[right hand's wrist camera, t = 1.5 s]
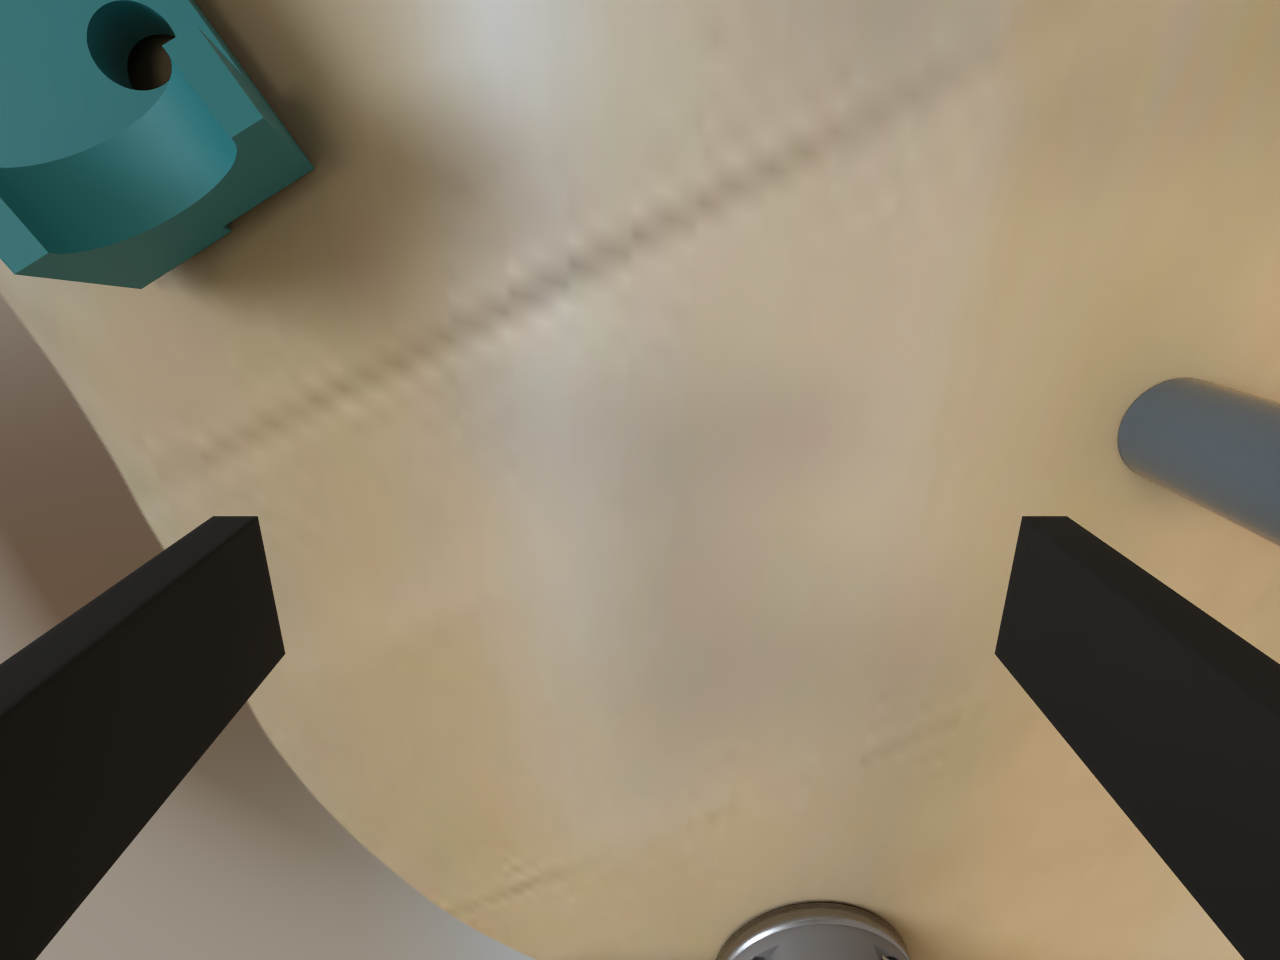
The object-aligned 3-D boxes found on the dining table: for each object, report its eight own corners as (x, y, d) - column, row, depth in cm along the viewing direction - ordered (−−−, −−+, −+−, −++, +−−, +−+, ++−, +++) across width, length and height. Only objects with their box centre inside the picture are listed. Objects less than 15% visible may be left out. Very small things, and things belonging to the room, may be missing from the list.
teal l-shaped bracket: (320, 174, 37) (263, 117, 27) (141, 288, 36) (14, 274, 26) (54, -197, 32) (-139, -437, 22) (-162, -72, 31) (-463, -260, 21)
